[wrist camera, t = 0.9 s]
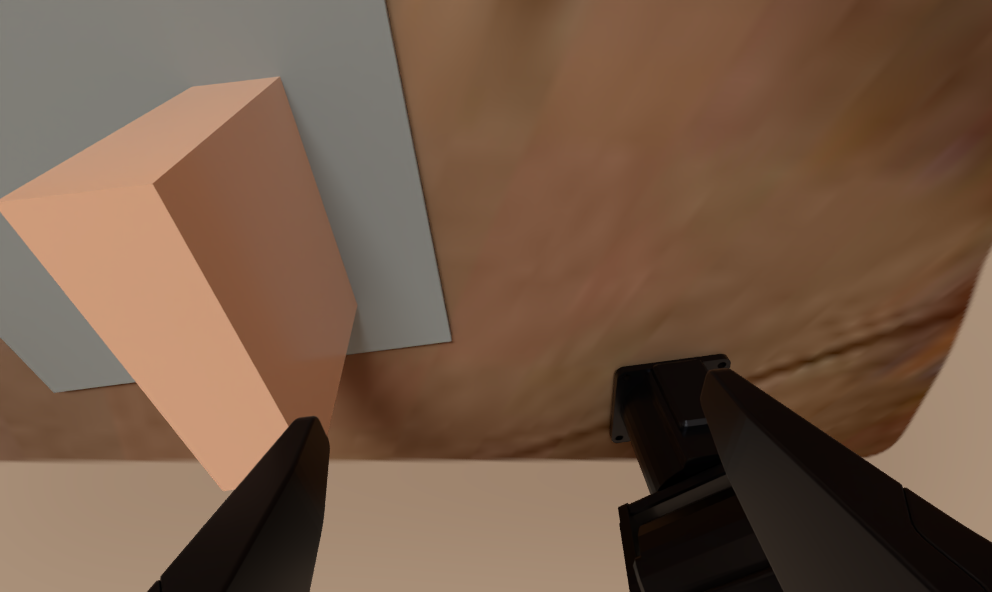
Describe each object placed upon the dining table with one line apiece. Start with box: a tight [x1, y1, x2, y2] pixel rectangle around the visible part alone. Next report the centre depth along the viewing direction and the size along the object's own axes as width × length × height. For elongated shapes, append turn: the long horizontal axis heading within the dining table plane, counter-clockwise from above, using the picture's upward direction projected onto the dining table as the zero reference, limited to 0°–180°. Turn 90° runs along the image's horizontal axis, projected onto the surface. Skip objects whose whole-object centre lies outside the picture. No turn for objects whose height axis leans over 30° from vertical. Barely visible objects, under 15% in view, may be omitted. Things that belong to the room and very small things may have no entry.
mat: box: [0, 0, 452, 393], centre depth 19 cm, size 16×20×1 cm
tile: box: [0, 76, 357, 491], centre depth 16 cm, size 10×3×9 cm, turn 5°
